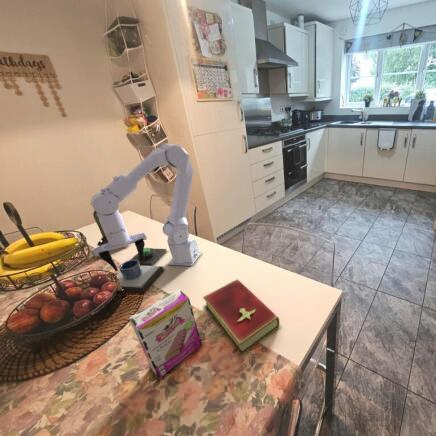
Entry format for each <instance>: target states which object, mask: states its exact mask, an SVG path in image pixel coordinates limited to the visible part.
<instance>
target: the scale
mask: <svg viewBox="0 0 436 436" xmlns="http://www.w3.org/2000/svg"><path fill="white" fill-rule="evenodd" d="M141 268H142V273H141V275H140V276H139V277H137V278H135V279H132V280H127V279H124V278H123V276H122V273H121V271H120V270H119V272H118V273H117V274H115V276H117V278H118V279H119V282H120V286H122V289H124V290H123V292H122V293H128V294H129V293H133V294H144V293H146V291H147V290H148V289H149V287H150V286H152V284H153V283H154V282H155V281H156V280H157V279H158V278H159V276H160V275H161V274H162V273H163V272H164V271H165V270H164V267H163V265H162V266H161V265H153V266H141Z"/></svg>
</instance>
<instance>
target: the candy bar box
mask: <svg viewBox="0 0 436 436" xmlns="http://www.w3.org/2000/svg"><path fill="white" fill-rule="evenodd" d="M128 319H129V321H130V324H131V326H132V328H133V331H134V333H135V335H136V337H137V340H138V342H139V345H140V347H141V349H142V352H143V353H144V356H145V358H146V360H147V363H148V366H150V368H151V370H152V372H153V373H154V374H155V376H156V377H157V378H158V380H160V379H161V378H163V377H164V376H166V375H167V374H168V373H169V372H170V371H171V370H173V369H174V368H175V367H177V366H178V365H179V364H180V363H181V362H183V361H184V360H185V359H186V358H187V357H189V356H190V355H191V354H193V353H194V352H195V351H197V350H198V349H199V348H200V347H201V346H202V340H201V337H200V333H199V330H198V325H197V321H196V318H195V314H194V311H193V307H192V304H191V300H190V297H189V296H188V295H187V294H186V293H184V291H182V290H181V289H180V288H178V289H176V290H175V291H173V292H171V293H169V294H168V295H166V296H164V297H162V298H161V299H159V300H157V301H156V302H154V303H152V304H151V305H149V306H147V307H145V308H143V309H142V310H140V311H138V312H136V313H134V314H133V315H131V316H129V317H128Z"/></svg>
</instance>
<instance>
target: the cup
mask: <svg viewBox="0 0 436 436" xmlns="http://www.w3.org/2000/svg"><path fill="white" fill-rule="evenodd" d="M118 267H119V268H118V269H119V272H120V271H121V273H122V276H123V278H124V279H127V280H132V279H135V278H137V277H139V276H140V275H141V273H142V268H141V266H140V263H139V261H138V260H131V259H129V260H126V261H125V262H122V263H121V264H120V265H119V266H118Z"/></svg>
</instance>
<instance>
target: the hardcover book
mask: <svg viewBox="0 0 436 436" xmlns="http://www.w3.org/2000/svg"><path fill="white" fill-rule="evenodd" d="M202 298H203V300H204V301H205V302H206V305H205V306H204V307H205V308H206V310H207V311H208V312H209V313H210V315H211V316H212V318H213V319H214V320H215V321H216V323H217V325H219V327H220V328H221V329H222V331H223V333H225V335H226V336H227V338H228V339H229V340H230V341H231V343H232V344H233V345H234V347H235V348H236V349H237V350H238V352H239V353H240V355H243V354H245V353H246V352H247V351H249V350H250V349H252V348H253V347H254V346H256V345H257V344H258V343H260V342H261V341H262V340H264V339H265V338H266V337H268V336H269V335H270V334H272V333H273V332H275V331H276V330H277V329H279V327H280V317H279V316H278V315H277V314H276V313H274V312H273V311H272V310H271V309H270V308H269V307H268V306H267V305H266V304H265V303H264V302H263V301H261V299H260V298H258V297H257V296H256V295H255V294H254V293H253V292H252V291H251V290H250V289H249V288H248V287H247V286H245V284H243V283H242V282H241V280H239V279H238V278H236V279H234V280H232V281H231V282H229V283H227V284H225V285H223V286H221V287H220V288H217V289H215V290H213V291H211V292H210V293H208V294H206V295H203V296H202Z"/></svg>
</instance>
